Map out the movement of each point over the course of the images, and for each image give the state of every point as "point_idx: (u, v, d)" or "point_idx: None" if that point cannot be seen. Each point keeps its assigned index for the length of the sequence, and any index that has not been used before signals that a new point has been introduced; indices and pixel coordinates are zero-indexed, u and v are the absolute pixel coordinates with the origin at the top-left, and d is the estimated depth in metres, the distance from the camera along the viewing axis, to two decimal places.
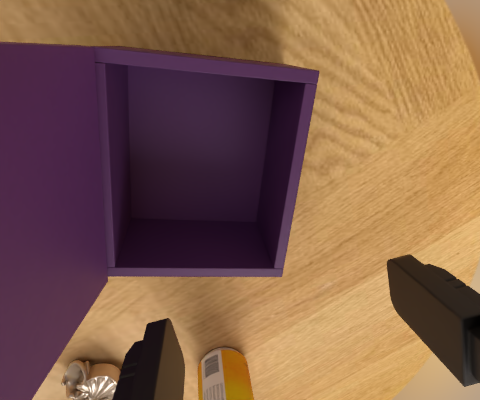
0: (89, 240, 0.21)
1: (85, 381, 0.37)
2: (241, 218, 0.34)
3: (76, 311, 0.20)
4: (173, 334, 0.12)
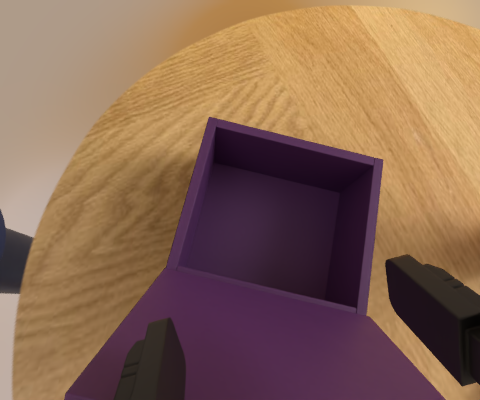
0: (315, 314, 0.23)
1: None
2: (334, 205, 0.37)
3: (379, 343, 0.21)
4: (174, 333, 0.12)
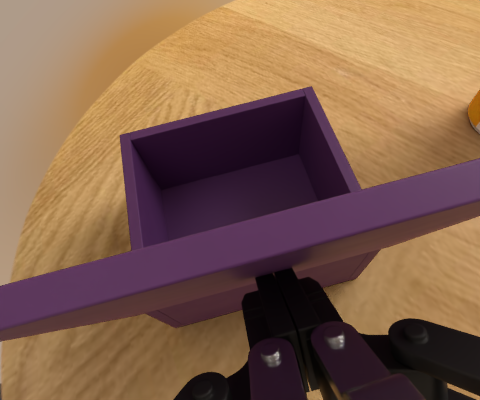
0: None
1: None
2: (300, 167, 0.33)
3: None
4: None
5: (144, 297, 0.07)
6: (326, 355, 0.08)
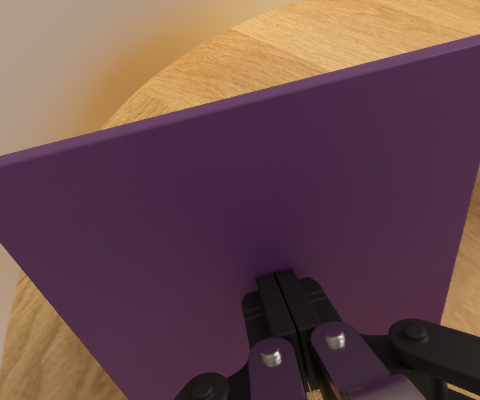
0: None
1: None
2: None
3: None
4: None
5: (138, 179, 0.10)
6: (326, 355, 0.08)
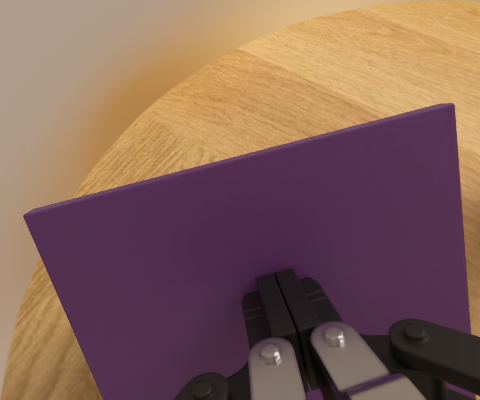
0: None
1: None
2: None
3: None
4: None
5: (164, 218, 0.12)
6: (326, 355, 0.08)
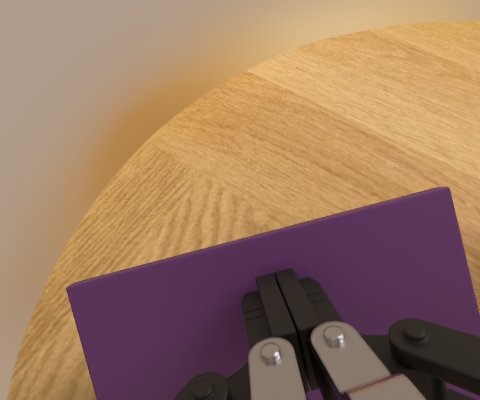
0: None
1: None
2: None
3: None
4: None
5: (190, 292, 0.13)
6: (326, 355, 0.08)
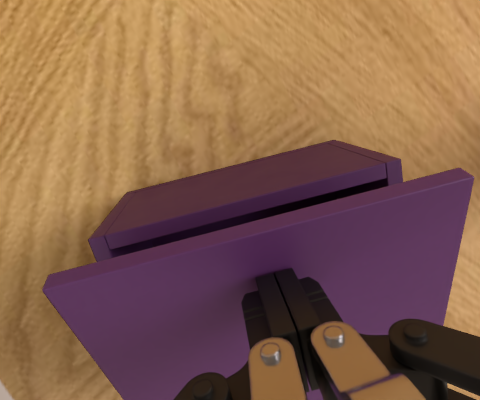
0: None
1: None
2: None
3: None
4: None
5: (184, 284, 0.13)
6: (326, 355, 0.08)
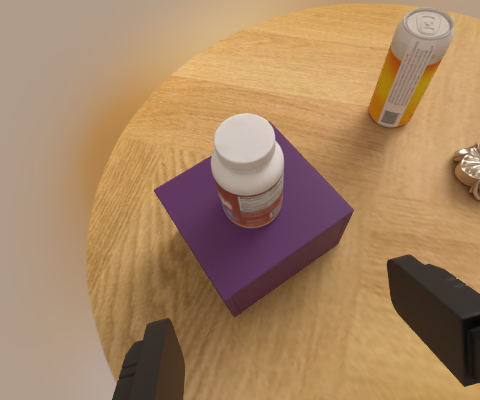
0: None
1: None
2: None
3: None
4: (173, 334, 0.12)
5: (195, 177, 0.38)
6: None
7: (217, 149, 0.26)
